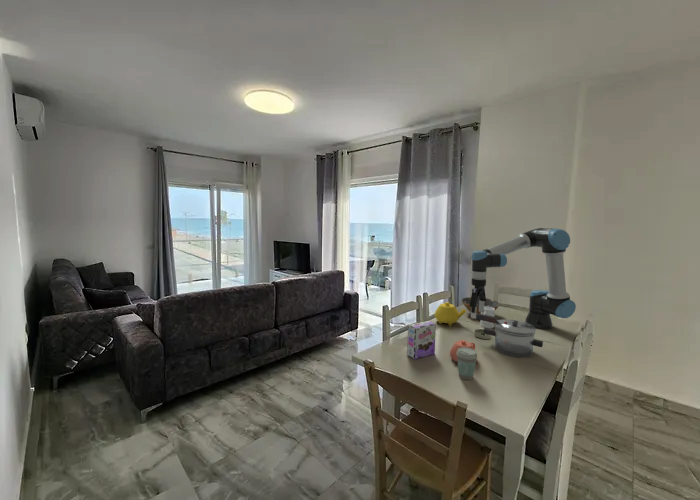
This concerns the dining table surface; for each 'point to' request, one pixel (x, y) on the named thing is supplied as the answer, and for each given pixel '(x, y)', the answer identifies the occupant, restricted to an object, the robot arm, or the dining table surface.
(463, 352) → the coffee cup
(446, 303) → the teapot
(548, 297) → the robot arm
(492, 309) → the mug
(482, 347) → the dining table surface
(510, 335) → the pot
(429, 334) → the candy box
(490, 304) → the bowl
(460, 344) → the sugar bowl
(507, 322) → the lid
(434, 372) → the dining table surface
